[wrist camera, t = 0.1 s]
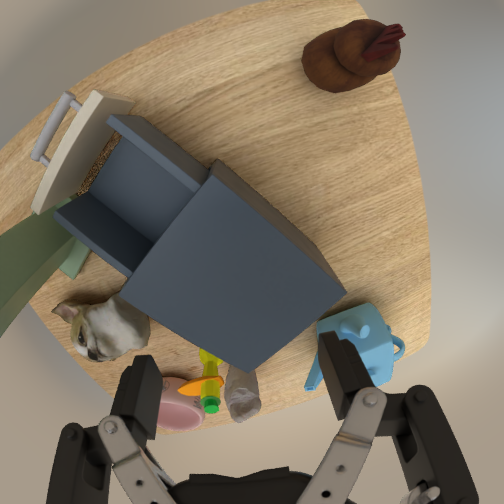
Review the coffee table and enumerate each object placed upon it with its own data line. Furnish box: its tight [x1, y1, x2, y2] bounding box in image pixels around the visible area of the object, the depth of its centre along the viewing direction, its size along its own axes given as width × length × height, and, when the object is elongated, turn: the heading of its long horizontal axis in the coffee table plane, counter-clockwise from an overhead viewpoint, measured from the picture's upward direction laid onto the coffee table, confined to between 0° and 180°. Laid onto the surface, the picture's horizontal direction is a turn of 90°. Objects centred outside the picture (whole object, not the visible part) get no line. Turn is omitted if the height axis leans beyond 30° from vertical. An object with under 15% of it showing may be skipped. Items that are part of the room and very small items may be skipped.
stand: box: [0, 194, 91, 337], centre depth 18 cm, size 9×9×22 cm
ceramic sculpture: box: [51, 292, 150, 362], centre depth 30 cm, size 11×9×15 cm
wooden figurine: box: [301, 19, 406, 93], centre depth 16 cm, size 7×6×15 cm
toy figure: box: [177, 348, 224, 413], centre depth 31 cm, size 7×4×12 cm, turn 112°
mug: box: [157, 377, 205, 431], centre depth 38 cm, size 12×10×6 cm
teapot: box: [304, 303, 405, 391], centre depth 33 cm, size 18×14×10 cm
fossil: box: [224, 365, 261, 423], centre depth 34 cm, size 6×4×10 cm, turn 137°
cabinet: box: [118, 159, 347, 373], centre depth 26 cm, size 15×13×10 cm
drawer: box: [30, 89, 210, 278], centre depth 22 cm, size 18×11×8 cm, turn 47°
